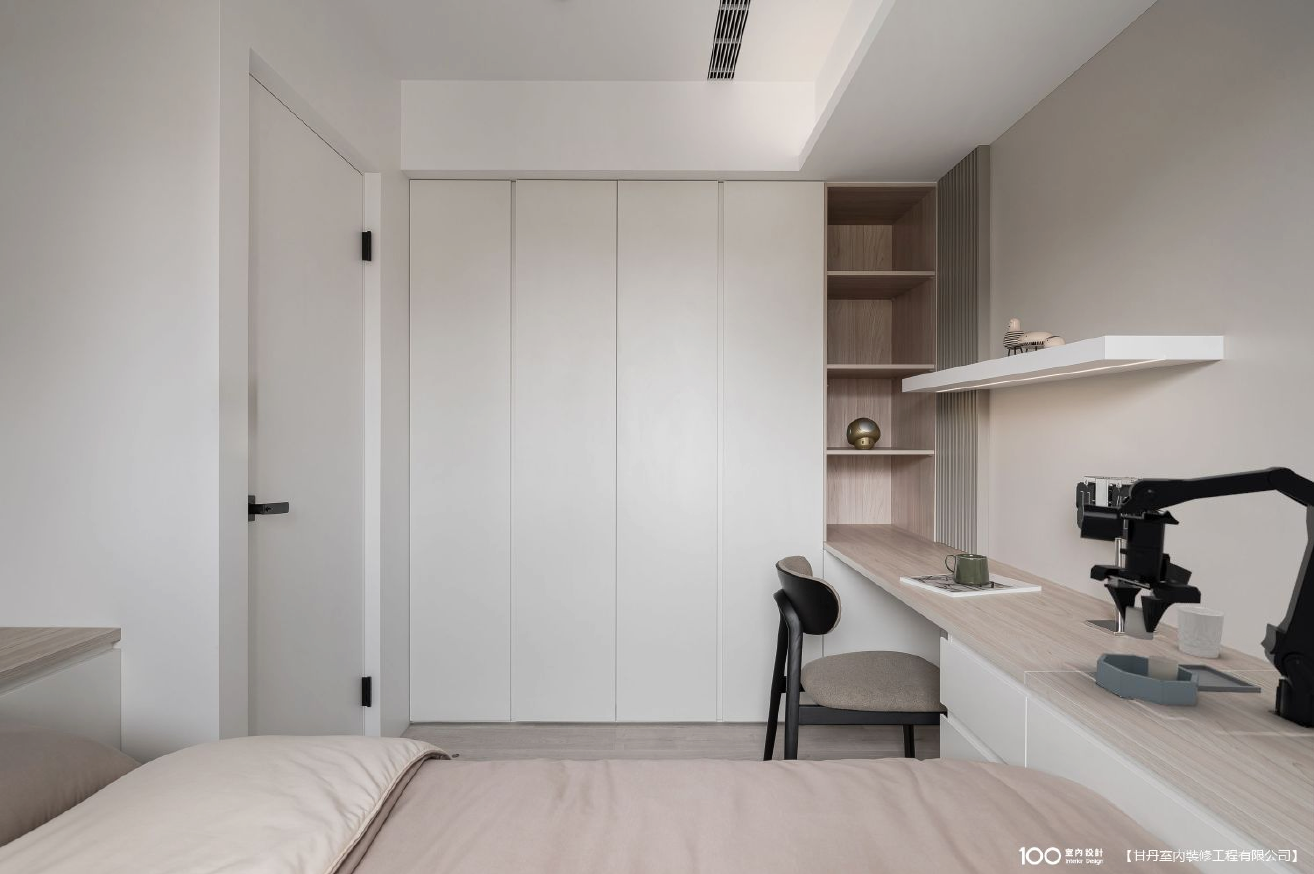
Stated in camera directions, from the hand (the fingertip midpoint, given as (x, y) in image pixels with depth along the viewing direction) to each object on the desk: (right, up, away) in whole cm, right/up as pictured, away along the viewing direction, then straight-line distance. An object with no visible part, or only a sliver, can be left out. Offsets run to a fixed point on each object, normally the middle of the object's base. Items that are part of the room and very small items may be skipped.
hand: (1138, 628), depth 125 cm
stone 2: (0, -1, 0) cm, 1 cm away
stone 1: (+4, -11, -1) cm, 11 cm away
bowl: (+1, -11, -1) cm, 11 cm away
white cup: (+29, -13, +22) cm, 39 cm away
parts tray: (+16, -12, +5) cm, 20 cm away
